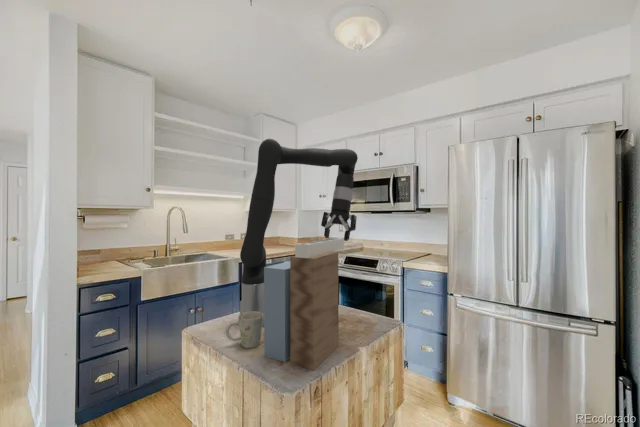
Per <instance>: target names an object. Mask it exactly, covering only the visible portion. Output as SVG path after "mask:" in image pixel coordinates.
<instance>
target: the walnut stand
mask: <svg viewBox="0 0 640 427" xmlns="http://www.w3.org/2000/svg"><path fill="white" fill-rule="evenodd" d="M289 261H290V359H289V361H290V365H294V366H297V367H301V368H305V369H307V370H311V371H315V370H316V369H317V368H318V367H319V366H320V365H321V364H322V363H324V361H325V360H326V359H328V358H329V357H330V355H332V354H333V353H334V352H335V351H336V350H337V349H338V348H339V346H340V345H339V344H340V343H339V328H340V327H339V251H335V252H331V253H327V254H323V255H319V256H315V257H311V258H298V257H295V255H292V256H290V260H289Z"/></svg>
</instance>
